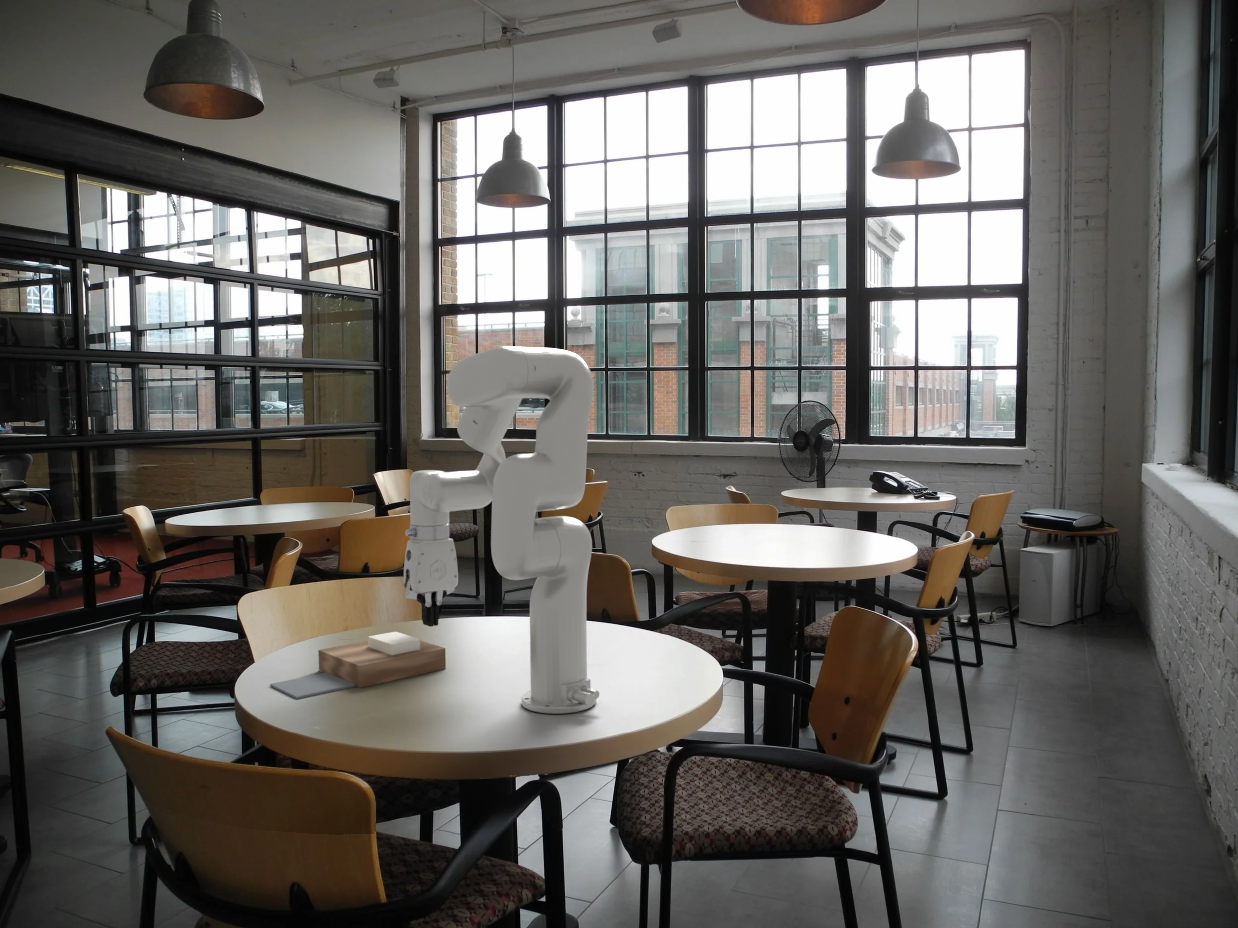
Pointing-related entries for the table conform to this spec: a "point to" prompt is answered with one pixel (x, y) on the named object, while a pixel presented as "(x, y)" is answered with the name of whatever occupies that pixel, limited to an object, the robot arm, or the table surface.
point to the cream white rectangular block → (394, 643)
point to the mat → (312, 685)
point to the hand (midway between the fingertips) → (430, 624)
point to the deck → (379, 663)
